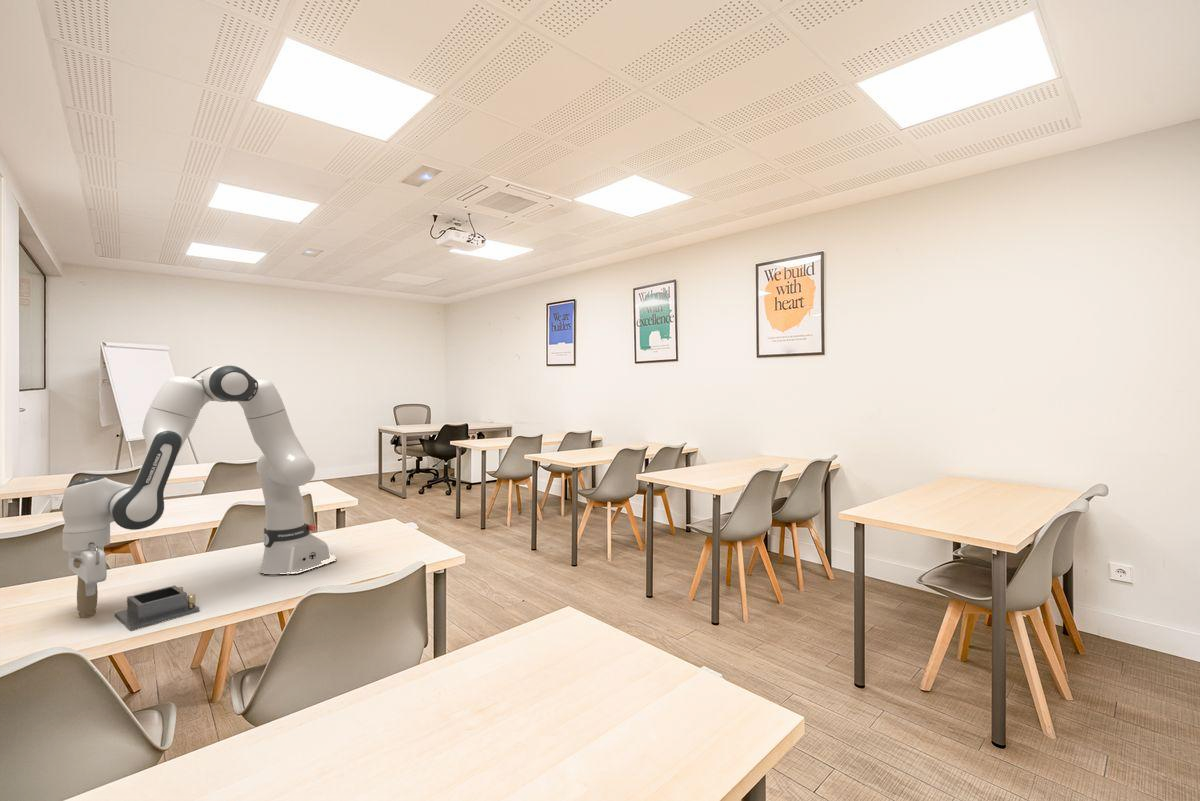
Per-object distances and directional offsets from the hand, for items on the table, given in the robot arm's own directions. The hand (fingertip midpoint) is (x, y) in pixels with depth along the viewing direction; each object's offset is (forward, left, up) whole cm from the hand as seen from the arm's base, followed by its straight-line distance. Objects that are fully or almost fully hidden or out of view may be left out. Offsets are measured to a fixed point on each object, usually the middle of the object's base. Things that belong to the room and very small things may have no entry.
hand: (87, 592), depth 135 cm
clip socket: (-11, +13, -6) cm, 18 cm away
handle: (0, 0, -6) cm, 6 cm away
